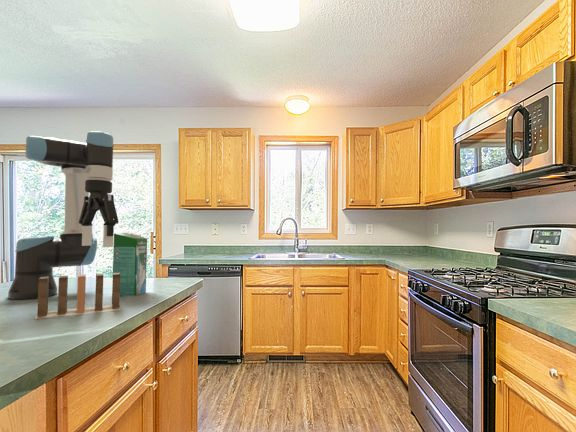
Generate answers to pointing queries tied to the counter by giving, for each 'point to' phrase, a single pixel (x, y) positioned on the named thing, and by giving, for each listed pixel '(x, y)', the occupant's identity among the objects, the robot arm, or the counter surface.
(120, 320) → the counter surface
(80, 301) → the rust tile
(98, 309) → the domino
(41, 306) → the domino
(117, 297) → the domino
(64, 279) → the domino
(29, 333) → the counter surface
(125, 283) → the milk carton
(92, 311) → the birch board
